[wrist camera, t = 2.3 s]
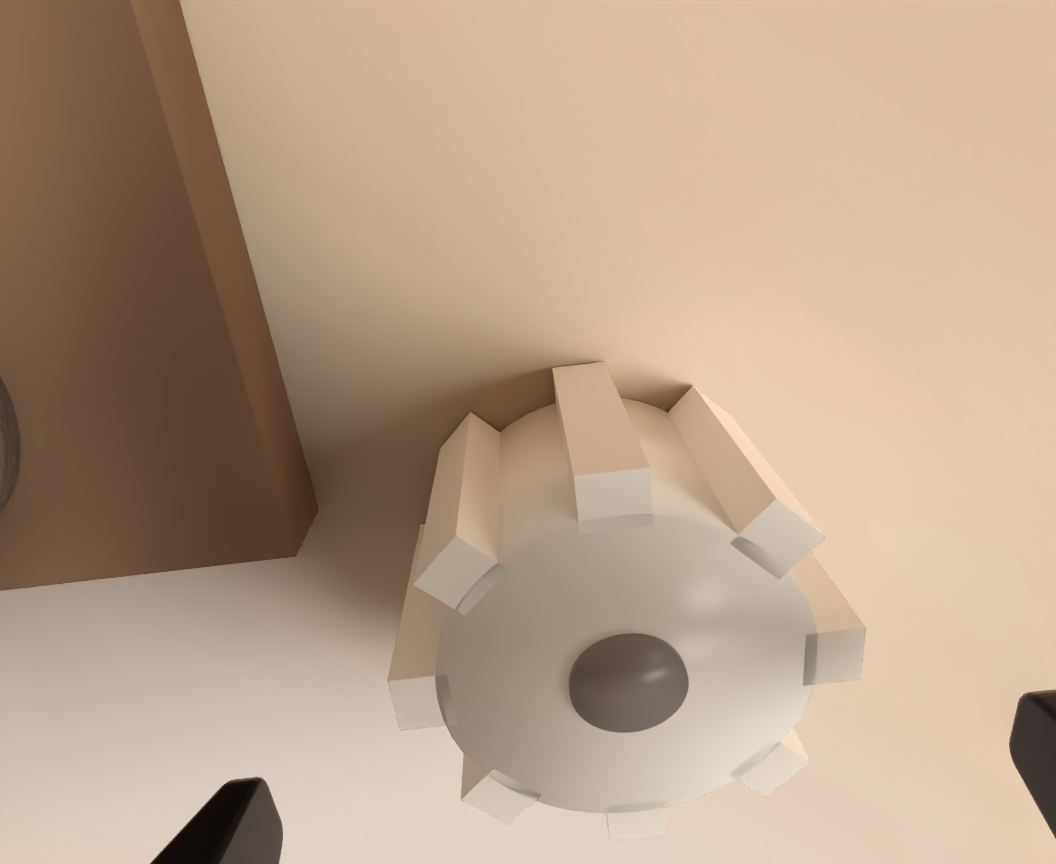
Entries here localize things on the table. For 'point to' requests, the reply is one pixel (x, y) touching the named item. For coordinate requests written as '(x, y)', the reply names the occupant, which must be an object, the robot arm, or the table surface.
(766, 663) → the loose gear
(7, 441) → the gear peg base
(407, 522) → the table surface
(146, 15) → the gear board
